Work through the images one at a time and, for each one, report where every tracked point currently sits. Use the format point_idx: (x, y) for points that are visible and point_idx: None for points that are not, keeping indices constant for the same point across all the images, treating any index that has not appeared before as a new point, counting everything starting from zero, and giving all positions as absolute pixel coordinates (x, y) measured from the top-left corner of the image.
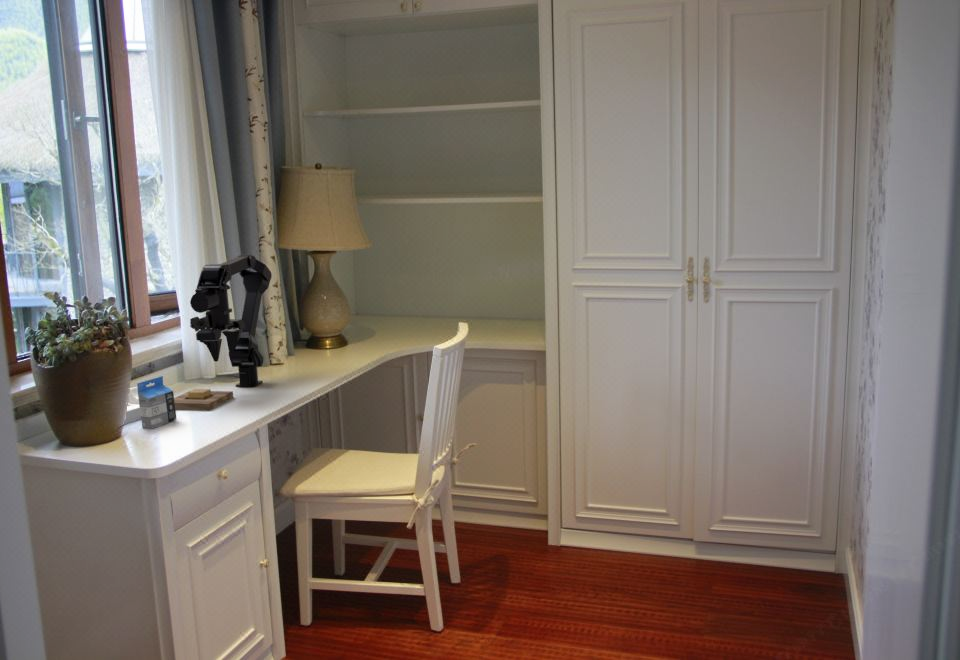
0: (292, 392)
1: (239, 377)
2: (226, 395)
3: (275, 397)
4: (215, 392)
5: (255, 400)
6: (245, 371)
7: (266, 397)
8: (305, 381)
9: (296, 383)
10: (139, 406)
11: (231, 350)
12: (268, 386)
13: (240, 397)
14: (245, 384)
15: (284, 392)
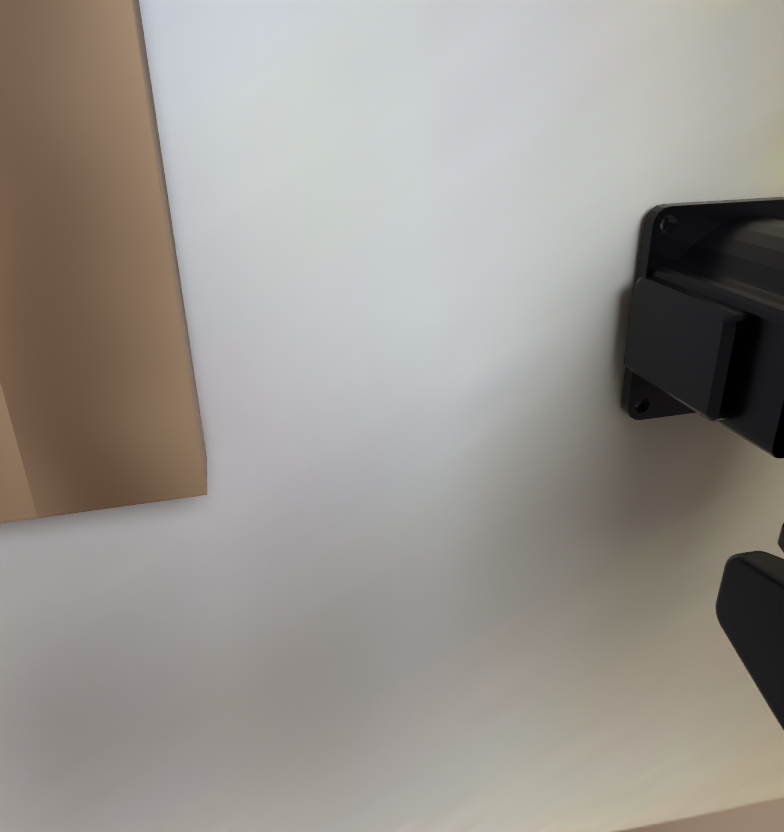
0: (457, 775)
1: (687, 307)
2: (43, 511)
3: (299, 762)
4: (99, 319)
5: (171, 690)
6: (742, 403)
7: (286, 708)
8: None
9: (716, 653)
10: None
11: (782, 659)
12: (643, 514)
13: (241, 511)
14: (630, 348)
15: (454, 731)
